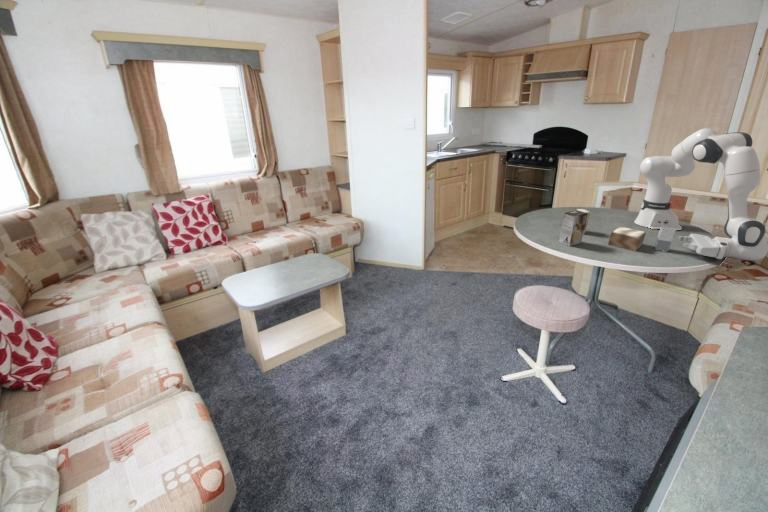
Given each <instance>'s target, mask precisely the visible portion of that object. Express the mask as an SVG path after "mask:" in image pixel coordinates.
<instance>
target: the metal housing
mask: <svg viewBox="0 0 768 512" xmlns="http://www.w3.org/2000/svg"><path fill="white" fill-rule="evenodd" d="M675 233H676V230H675V229H674V228H673V227H665V226H661V227H660V230H658V234H657V236H656V240H655V243H654V245H653V248H654V247H655V248H654V250H655V249H656V250H664V251H668V252H669V250H670V247H671V244H672V241H673V239H674V237H675ZM656 250H655V251H656Z"/></svg>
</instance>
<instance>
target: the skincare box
mask: <svg viewBox="0 0 768 512" xmlns="http://www.w3.org/2000/svg"><path fill="white" fill-rule="evenodd" d="M576 210H578V211H581V212H585V213H588V214H587V219H586V223H585V228H584V232H583V234H586V231H587V226H588V222H589V219H590V214H591V211H589V210H587V209H584V208H577V209H576Z"/></svg>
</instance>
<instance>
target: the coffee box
mask: <svg viewBox="0 0 768 512" xmlns="http://www.w3.org/2000/svg"><path fill="white" fill-rule="evenodd" d="M587 214H588V213H585V212H581V211H578V210H577V209H575V210H572V211H567V212H564V216H563V220H562V225H561V229H560V230H561V231H560V235H559V240H558V243H559V242H560V243H559V244H562V243H563V245H565V246H567V245H568V246H567V247H572V246H576V245H579V244H582V241H583V236H584V233H583V232H584V228H585V223H586V219H587Z"/></svg>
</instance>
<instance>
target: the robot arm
mask: <svg viewBox="0 0 768 512" xmlns="http://www.w3.org/2000/svg"><path fill="white" fill-rule="evenodd" d="M695 161H697V162H698V163H706V164H716V163H717V162H719V163H721V164H722V165H723V169H724V170H723V171H724V181H725V187H726V193H727V220H726V222H725V225H724V227H723V231H724V233H725V235H726V236H727V237H722V236H715V237H713V238H711V237H710V236H708V235H706V234H705V235H704V234H699V233H690V234H689V236H688V235H687V236H681V235H679V236H678V240H679V241H681V242H683V244H682V247H683V248H687V249H690V250H693V251H695V252H696V253H697V254H698V255H701V256H705V257H710V258H715V259H717V260H723V258H733V259H735V260H743V261H751V262H752V261H753V262H755V261H760V260H762V259H764V258H765V257H766V256H767V255H768V243H767V241H766V227H765V225H764V224H763V223H762V222H760V221H758V220H755V219H750V218H749V216H748V197H749V195H750V194H751V192H753V191H754V190H756V188H758V186H759V185H760V181H761V166H760V161H759V158H758V154H757V152H756V150H755V148H754V147H753V139H752V136H751V135H750V134H749V133H747V132H744V131H743V132H741V131H738V132H737V131H736V132H735V131H734V132H727V133H724V134H718V133H717V131H716V130H714V129H713V128H709V127H704V128H701V129H698V130H696V131H695V132H694V133H691V134H690V135H689V136H687V137H685V138H684V139H683V140H682V141H681V142H679V143H678V144H677V145H675V146H674V147H673V148H672V150H671V155H653V156H647V157H645V158H644V159H643V160H642V161H641V162H640V165H639V170H640V173H641V175H643V176H644V177H645V179H646V183H647V188H646V192H645V196H644V198H643V199H642V202H641V205H640V210H639V212H638V215H637V216H636V219H635V220H634V224H635V225H638V226H641V227H643V228H644V227H645V228H647V227H648V229H650V228H651V230H657V229H660V227H661V226H665V227H673V228H674V229H675V231H677V230H681V229H682V230H683V227H682V226H681V225H680V224H679V222H680V221H679V216H678V215H677V214H676V213H675V212H673V211H672V210H671V209H673V208H675V205H674V204H673V203H671V202H669V200H670V197H671V194H672V190H673V189H672V186H671V185H670V184H668V183H666V178H667V177H669V178H670V177H671V178H678V177H684V176H689V175H690V174H691V173H693V171H694V170H695V167H696V162H695ZM682 230H681V231H682ZM685 241H687V242H685Z"/></svg>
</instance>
